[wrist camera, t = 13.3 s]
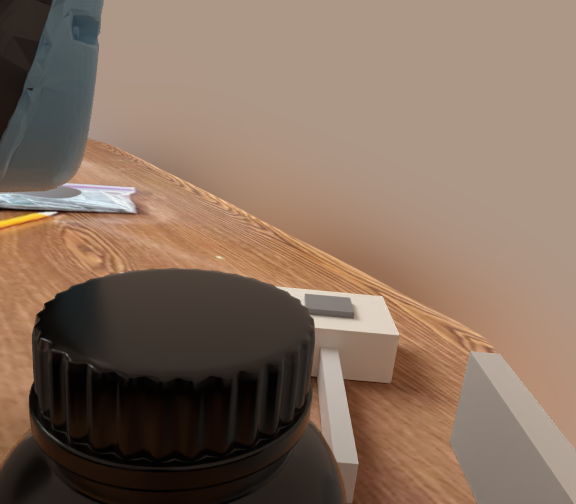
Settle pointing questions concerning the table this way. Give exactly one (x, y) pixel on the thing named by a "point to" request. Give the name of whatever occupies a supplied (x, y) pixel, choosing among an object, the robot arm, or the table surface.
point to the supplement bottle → (172, 396)
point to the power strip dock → (347, 361)
